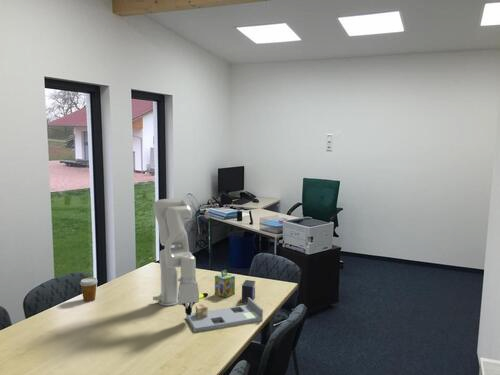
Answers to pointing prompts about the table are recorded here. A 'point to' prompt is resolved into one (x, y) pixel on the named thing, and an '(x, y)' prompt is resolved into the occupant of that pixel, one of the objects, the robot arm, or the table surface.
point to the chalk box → (224, 284)
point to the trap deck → (227, 317)
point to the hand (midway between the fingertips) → (188, 314)
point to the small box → (248, 291)
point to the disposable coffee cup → (89, 289)
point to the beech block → (201, 310)
